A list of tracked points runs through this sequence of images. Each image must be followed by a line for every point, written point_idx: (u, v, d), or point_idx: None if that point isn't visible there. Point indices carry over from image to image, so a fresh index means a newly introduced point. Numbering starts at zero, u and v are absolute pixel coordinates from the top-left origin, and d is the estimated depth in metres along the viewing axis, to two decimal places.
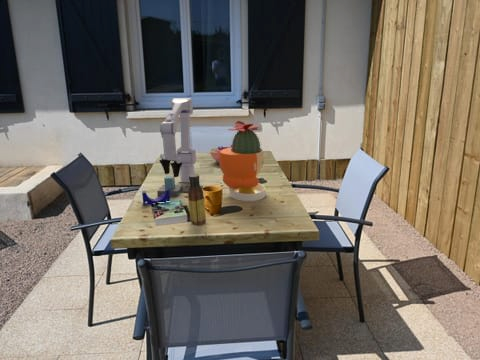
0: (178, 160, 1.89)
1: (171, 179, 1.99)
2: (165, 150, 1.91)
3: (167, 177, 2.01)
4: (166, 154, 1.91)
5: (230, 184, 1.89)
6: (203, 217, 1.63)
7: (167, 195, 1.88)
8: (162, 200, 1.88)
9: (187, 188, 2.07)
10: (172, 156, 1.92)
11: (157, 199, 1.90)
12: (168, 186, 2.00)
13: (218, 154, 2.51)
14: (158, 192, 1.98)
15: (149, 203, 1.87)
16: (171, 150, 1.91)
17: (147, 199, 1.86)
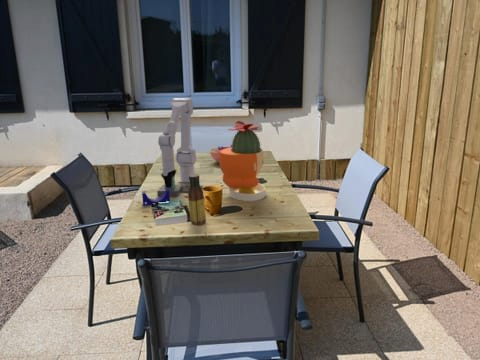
0: (163, 173, 1.93)
1: None
2: (162, 161, 1.99)
3: None
4: None
5: (230, 184, 1.89)
6: (203, 217, 1.63)
7: (167, 195, 1.88)
8: (162, 200, 1.88)
9: (187, 188, 2.07)
10: (165, 168, 1.97)
11: (157, 199, 1.89)
12: None
13: (218, 154, 2.51)
14: (158, 192, 1.98)
15: (149, 204, 1.86)
16: (164, 162, 1.96)
17: (147, 200, 1.86)
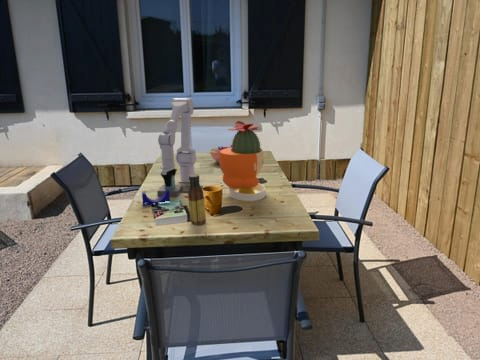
0: (162, 172, 1.93)
1: (171, 178, 1.99)
2: None
3: None
4: (162, 164, 1.99)
5: (230, 184, 1.89)
6: (203, 217, 1.63)
7: (167, 196, 1.88)
8: (162, 201, 1.87)
9: (187, 188, 2.07)
10: (165, 167, 1.97)
11: (157, 200, 1.89)
12: None
13: (218, 154, 2.51)
14: (158, 192, 1.98)
15: (149, 204, 1.86)
16: (164, 161, 1.96)
17: (147, 200, 1.85)
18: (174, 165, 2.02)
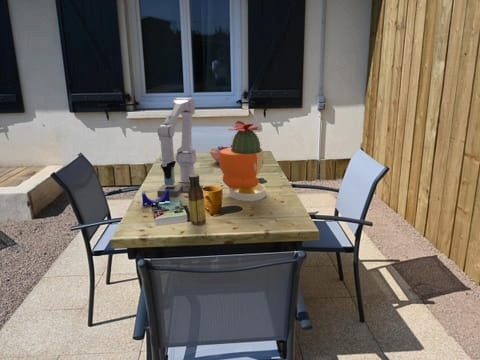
0: (163, 163, 1.92)
1: None
2: None
3: None
4: None
5: (230, 184, 1.89)
6: (203, 217, 1.63)
7: (167, 196, 1.87)
8: (162, 201, 1.87)
9: (187, 188, 2.07)
10: (165, 159, 1.96)
11: (157, 200, 1.88)
12: None
13: (218, 154, 2.51)
14: (158, 192, 1.98)
15: (149, 204, 1.86)
16: (164, 153, 1.95)
17: (147, 200, 1.85)
18: None
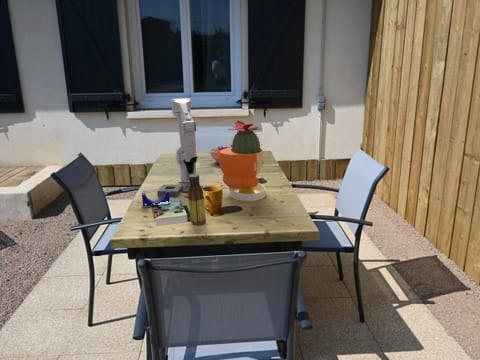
0: (186, 158, 1.95)
1: None
2: (184, 147, 2.01)
3: None
4: (184, 151, 2.01)
5: (230, 184, 1.89)
6: (203, 217, 1.63)
7: (167, 196, 1.86)
8: None
9: (187, 188, 2.07)
10: (187, 154, 1.99)
11: (157, 201, 1.88)
12: None
13: (218, 154, 2.51)
14: (158, 192, 1.98)
15: (149, 205, 1.85)
16: (187, 148, 1.99)
17: (147, 201, 1.84)
18: None
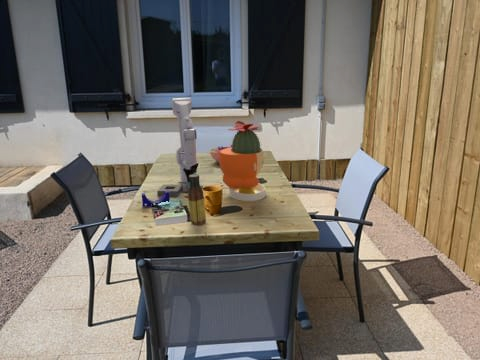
0: (186, 166, 1.97)
1: None
2: (184, 155, 2.02)
3: None
4: (185, 159, 2.02)
5: (230, 184, 1.89)
6: (203, 217, 1.63)
7: (167, 197, 1.86)
8: None
9: None
10: (188, 162, 2.00)
11: (157, 201, 1.87)
12: None
13: (218, 154, 2.51)
14: (158, 192, 1.98)
15: (149, 205, 1.84)
16: (187, 156, 2.00)
17: (147, 201, 1.84)
18: None
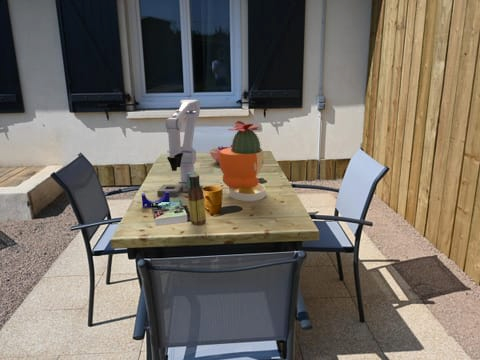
0: (170, 155, 1.97)
1: None
2: (169, 144, 2.03)
3: (189, 173, 2.05)
4: (169, 148, 2.03)
5: (230, 184, 1.89)
6: (203, 217, 1.63)
7: (167, 197, 1.85)
8: None
9: None
10: (172, 150, 2.01)
11: (157, 201, 1.87)
12: None
13: (218, 154, 2.51)
14: (158, 192, 1.98)
15: (149, 206, 1.84)
16: (171, 145, 2.01)
17: (147, 202, 1.83)
18: None
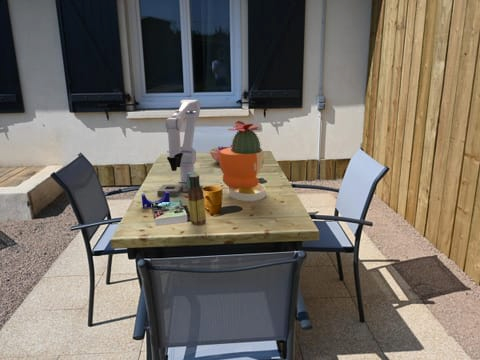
0: (170, 155, 1.97)
1: None
2: None
3: (189, 173, 2.05)
4: (169, 148, 2.03)
5: (230, 184, 1.89)
6: (203, 217, 1.63)
7: (167, 197, 1.85)
8: None
9: None
10: (172, 150, 2.01)
11: (157, 202, 1.86)
12: None
13: (218, 154, 2.51)
14: (158, 192, 1.98)
15: (149, 206, 1.83)
16: (171, 145, 2.01)
17: (147, 202, 1.83)
18: None
